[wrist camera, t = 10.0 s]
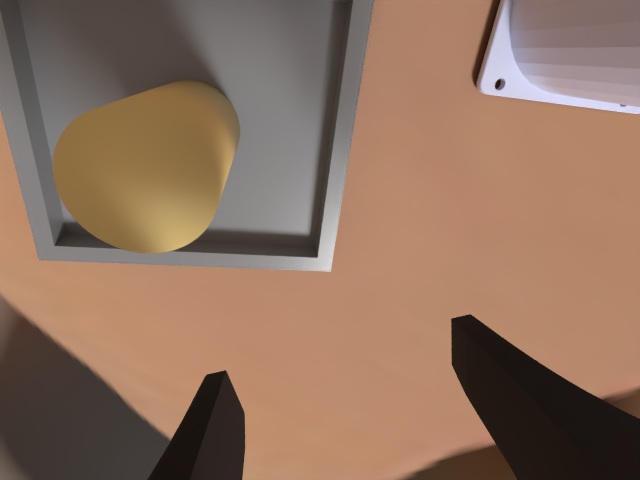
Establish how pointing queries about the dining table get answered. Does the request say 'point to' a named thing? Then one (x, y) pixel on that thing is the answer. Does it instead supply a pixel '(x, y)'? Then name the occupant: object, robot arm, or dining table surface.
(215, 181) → the pin
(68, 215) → the tray
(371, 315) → the dining table surface
